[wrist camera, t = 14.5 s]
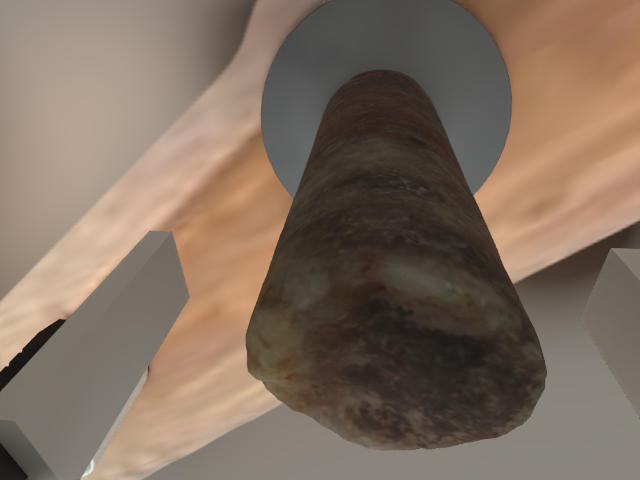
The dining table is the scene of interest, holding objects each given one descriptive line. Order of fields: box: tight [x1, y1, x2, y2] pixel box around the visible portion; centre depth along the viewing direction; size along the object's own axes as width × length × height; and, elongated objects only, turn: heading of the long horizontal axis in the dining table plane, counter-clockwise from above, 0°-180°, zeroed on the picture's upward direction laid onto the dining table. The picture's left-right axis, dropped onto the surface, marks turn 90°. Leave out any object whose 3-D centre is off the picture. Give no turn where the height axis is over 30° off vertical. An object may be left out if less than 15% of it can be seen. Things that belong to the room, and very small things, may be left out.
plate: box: [261, 0, 512, 198], centre depth 26 cm, size 16×16×1 cm
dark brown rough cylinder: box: [246, 70, 547, 450], centre depth 18 cm, size 8×7×20 cm
